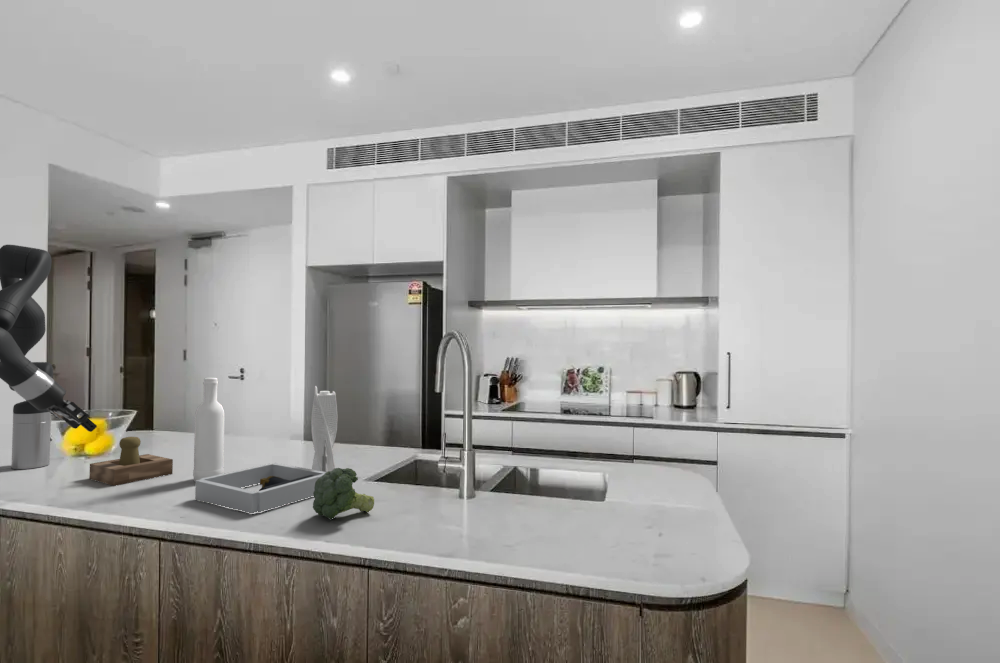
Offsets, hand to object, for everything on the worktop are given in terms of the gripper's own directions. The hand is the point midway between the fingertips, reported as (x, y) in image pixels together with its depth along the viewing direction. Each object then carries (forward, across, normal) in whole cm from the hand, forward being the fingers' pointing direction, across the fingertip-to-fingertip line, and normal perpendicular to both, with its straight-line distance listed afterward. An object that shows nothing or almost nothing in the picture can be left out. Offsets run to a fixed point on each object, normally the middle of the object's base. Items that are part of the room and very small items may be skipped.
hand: (85, 427), depth 152 cm
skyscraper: (+38, -52, -17) cm, 67 cm away
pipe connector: (+26, -56, -4) cm, 62 cm away
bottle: (+27, -23, -5) cm, 36 cm away
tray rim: (+25, -51, -4) cm, 57 cm away
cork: (+19, -2, +3) cm, 19 cm away
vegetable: (+23, -81, -3) cm, 84 cm away
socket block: (+20, -1, +2) cm, 20 cm away
